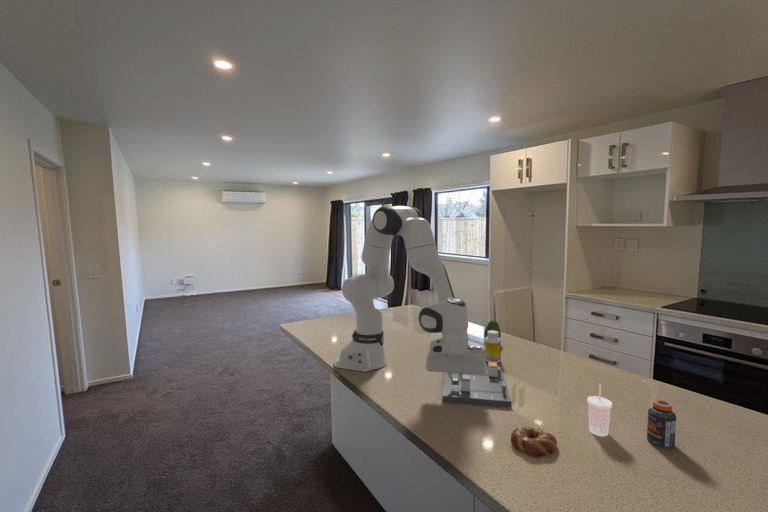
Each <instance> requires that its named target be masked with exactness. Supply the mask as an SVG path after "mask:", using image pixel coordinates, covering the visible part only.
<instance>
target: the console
mask: <svg viewBox="0 0 768 512" xmlns="http://www.w3.org/2000/svg"><path fill="white" fill-rule="evenodd" d="M485 370H486V372H485V373H484V374H483V375H477V374H463V375H470V392H468V391H461V380H460V381H459V385H451V380H450V378H449V376H448V373H446V372H443V373H444V375H443V386H442V387H443V388H442V403H452V404H453V403H454V404H465V405H466V404H467V405H476V406H478V405H479V406H491V407H499V406H500V407H502V408H511V407H513V406H512V404H513V402H512V398H511V394H510V392H509V389H508V386H507V385H508V384H507V382H506V380H505V377H504V373H503V369H501V366H498V376H497V377H492V376H489V373H488V368H485ZM452 377H453V378H456V379H458V377H459V373H452Z"/></svg>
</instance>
